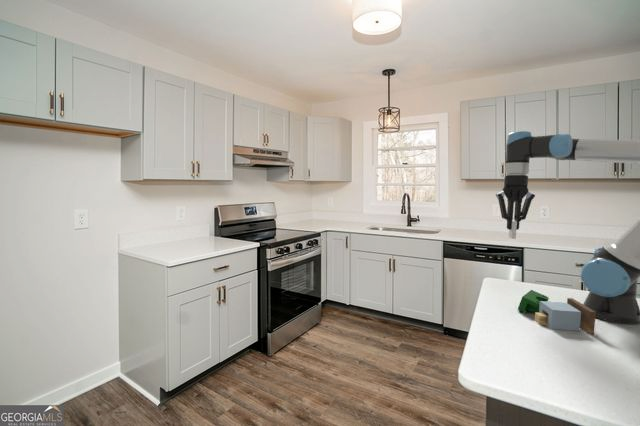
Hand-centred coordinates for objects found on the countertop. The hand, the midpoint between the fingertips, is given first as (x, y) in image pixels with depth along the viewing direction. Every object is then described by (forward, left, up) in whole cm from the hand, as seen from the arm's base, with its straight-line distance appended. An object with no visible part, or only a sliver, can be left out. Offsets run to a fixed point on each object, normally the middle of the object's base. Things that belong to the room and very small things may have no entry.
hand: (512, 238), depth 126 cm
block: (-8, +20, -24) cm, 32 cm away
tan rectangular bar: (-5, +19, -25) cm, 32 cm away
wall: (-14, +20, -24) cm, 34 cm away
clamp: (-5, +8, -25) cm, 27 cm away
